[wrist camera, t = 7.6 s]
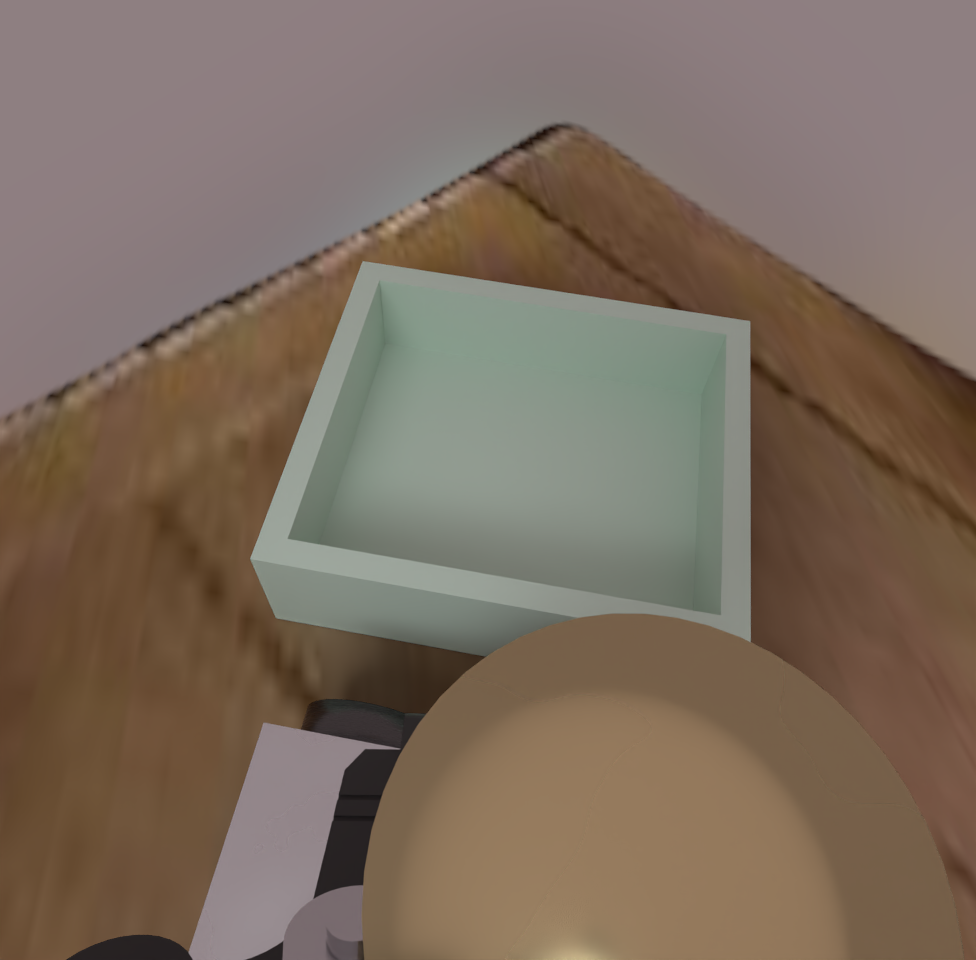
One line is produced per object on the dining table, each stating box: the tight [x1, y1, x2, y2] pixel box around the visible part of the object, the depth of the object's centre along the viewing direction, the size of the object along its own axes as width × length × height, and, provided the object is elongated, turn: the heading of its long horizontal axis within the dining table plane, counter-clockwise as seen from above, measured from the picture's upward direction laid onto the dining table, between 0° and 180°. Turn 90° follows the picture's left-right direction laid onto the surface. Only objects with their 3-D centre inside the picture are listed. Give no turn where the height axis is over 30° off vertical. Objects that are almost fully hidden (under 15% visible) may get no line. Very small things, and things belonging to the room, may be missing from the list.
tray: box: [250, 261, 751, 657], centre depth 34 cm, size 17×15×5 cm
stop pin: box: [362, 613, 964, 960], centre depth 11 cm, size 4×4×12 cm
